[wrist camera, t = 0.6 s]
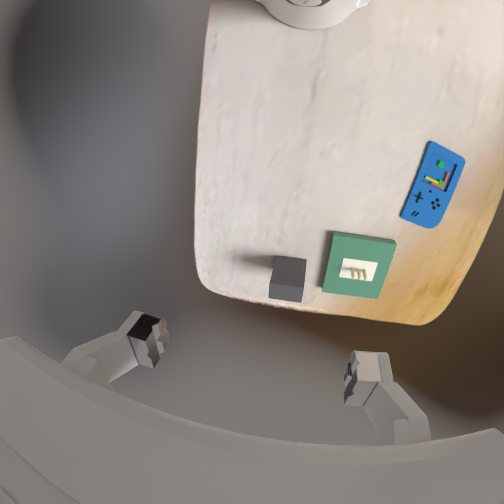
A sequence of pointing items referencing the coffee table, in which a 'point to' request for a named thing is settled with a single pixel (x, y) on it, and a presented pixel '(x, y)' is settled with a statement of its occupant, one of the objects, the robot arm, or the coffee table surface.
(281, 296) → the block
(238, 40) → the coffee table surface
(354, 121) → the coffee table surface
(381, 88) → the coffee table surface
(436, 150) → the handheld gaming device
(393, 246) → the board
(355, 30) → the coffee table surface
